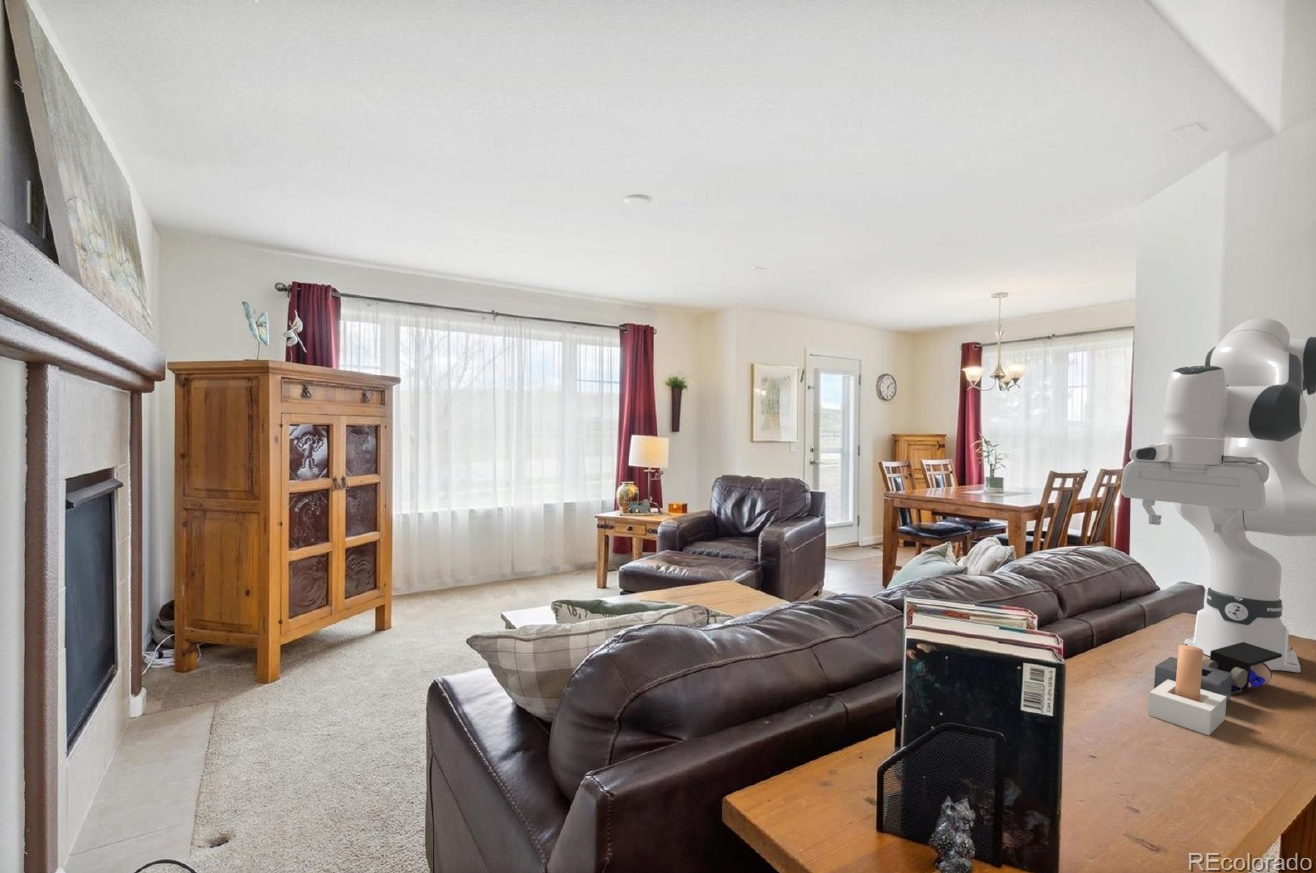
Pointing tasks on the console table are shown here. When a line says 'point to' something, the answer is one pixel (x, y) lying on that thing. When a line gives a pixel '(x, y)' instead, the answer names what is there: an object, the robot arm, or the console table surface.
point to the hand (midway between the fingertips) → (1186, 528)
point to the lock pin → (1189, 672)
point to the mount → (1210, 677)
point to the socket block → (1187, 708)
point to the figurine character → (1243, 664)
